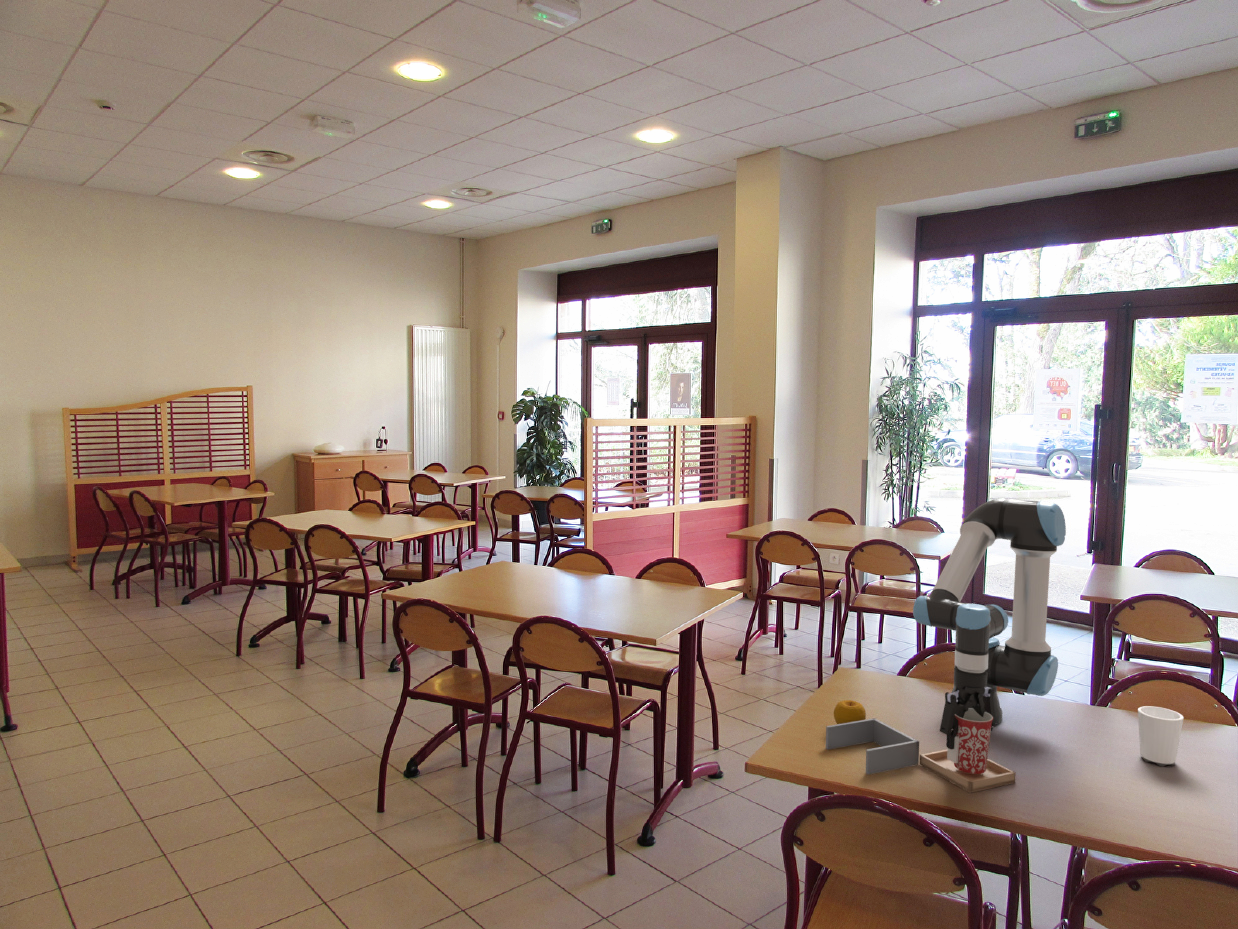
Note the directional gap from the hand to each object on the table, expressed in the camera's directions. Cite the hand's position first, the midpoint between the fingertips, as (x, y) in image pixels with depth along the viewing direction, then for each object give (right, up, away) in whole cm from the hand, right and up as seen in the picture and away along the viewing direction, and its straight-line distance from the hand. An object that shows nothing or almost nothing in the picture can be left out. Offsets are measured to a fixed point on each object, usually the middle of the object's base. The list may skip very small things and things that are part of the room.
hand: (966, 758), depth 201 cm
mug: (+1, -2, 0) cm, 2 cm away
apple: (-22, -2, +25) cm, 33 cm away
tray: (0, -4, 0) cm, 4 cm away
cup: (+53, -4, +9) cm, 54 cm away
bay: (-21, -3, +9) cm, 23 cm away
